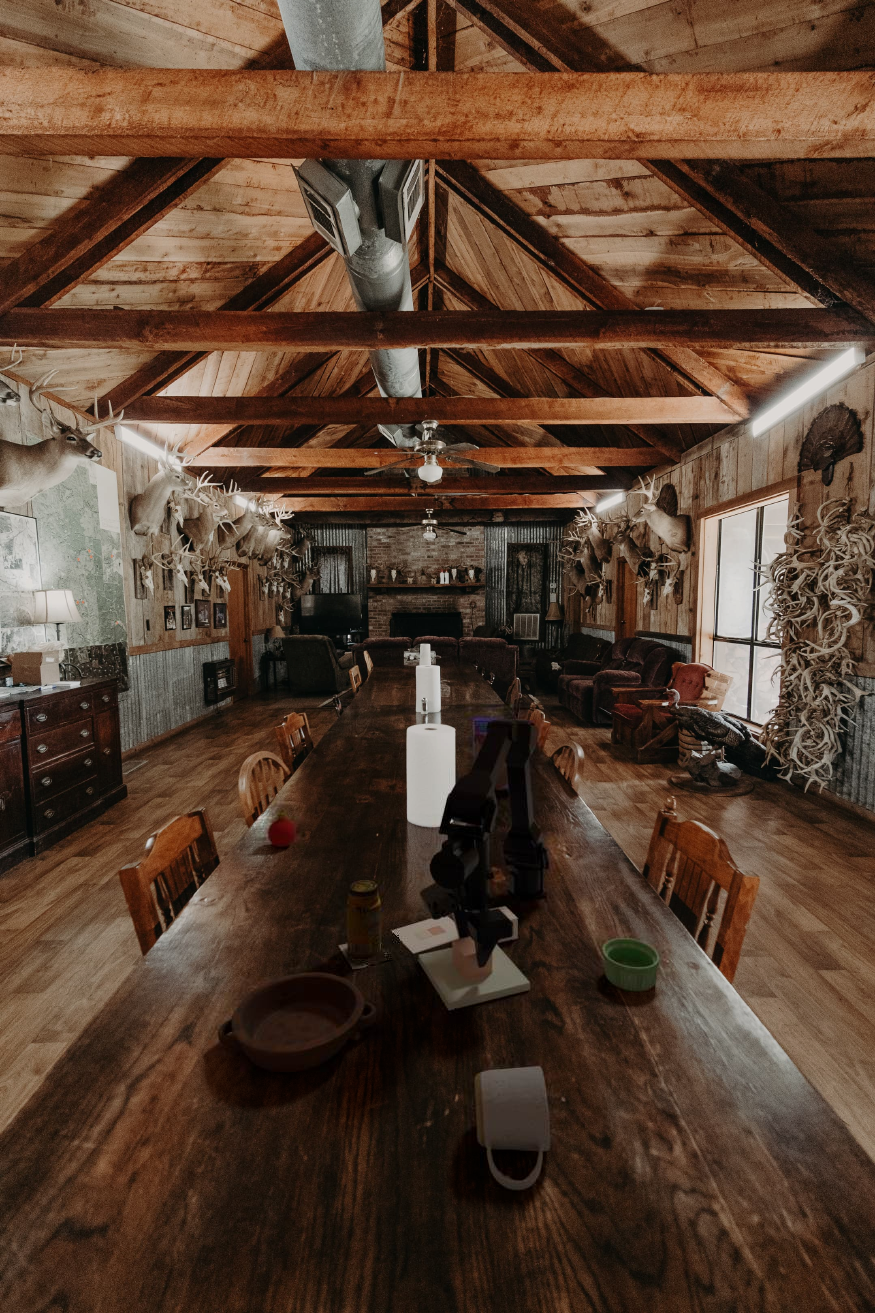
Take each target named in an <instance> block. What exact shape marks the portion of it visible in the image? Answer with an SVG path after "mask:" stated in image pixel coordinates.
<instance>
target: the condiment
mask: <svg viewBox="0 0 875 1313" xmlns="http://www.w3.org/2000/svg"><path fill="white" fill-rule="evenodd" d="M381 902H382V901H381V899H380V896H379V885H378V883H376V882H375V881H372V880H366V879H365V880H358V881H355V882H352V884H351V885H349V887H348V900H347V902H346V938H347V939H346V940H347V942H346V943H344V944H339V945H338V948H339V949H340V951H341V952H342V954H343V956H344V957H345V959H346V960H347V962H348V965H350V967H351V969H352V970H356V969H357V970H358V969H364V968H367V966H368V965H369V964H368V965H366V964H362V963H364V962H363V961H364V960H362V961H359V960H356V961H358V962H360V963H358V962H356V961H354V960H352V958H353V959H368V958H371V957H373V956H375V955H377V954H378V953H379V952H380V950H381V944H382V905H381ZM385 954H387V953H385ZM385 956H386V955H385ZM350 957H352V958H350ZM361 965H363V966H361ZM368 967H369V966H368Z"/></svg>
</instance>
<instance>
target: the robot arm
mask: <svg viewBox="0 0 875 1313" xmlns="http://www.w3.org/2000/svg"><path fill="white" fill-rule="evenodd" d="M493 719H494V720H492V721H489V722H488V725H487V734H486V736H485V738H484V741H483V743H482V745H481V747H480V750H479V752H478V754H477V757H476V759H475V761H474V763H473V762H472V765H471V768H470V770H469V771H468V773H467V774H466V775H464V776H462V777H460V778H459V779H457V780H456V782H455V784H454V786H453V788H452V789H451V790H450V792H449V793H448V794H447V797H446V800H445V805H444V810H443V813H442V816H441V820H440V826H439V830H438V834H439V835H443V836H447V839H446V840H444V841H443V842H441V848H440V850H439V851H437V852H436V853H435V854H434V855H433V856H432V858H431V860H430V863H429V872H430V875H431V878H432V879H433V880H434V883H431V885H428V886H427V887H425V888H422V890H421V891H420V892H419V896H420V899H421V901H422V903H423V905H424V908H425V911H426V913H428V914H429V916H430V917H431V918H432V919H433V920H438V919H440V918H442V917H446V916H448V917H449V916H450V915H452V918H453V919H452V920H453V921H454V922H455V926H456V930H457V933H458V937H459V939H461V938H466V937H471V938H472V939H473V940H474V943H475V951H476V958H477V963H478V967H479V968H482V967H485V965H486V964H487V962H488V960H489V958H490V956H491V954H492V952H493V950H494V948H495V946H496V944H497V945H498V941H499V940H500V939H505V938H509V937H512V936H513V922H512V921H511V920H510V919H509V918H508V917H507V916H506V915H505V914H504V913H503V912H502V911H501V910H500V909H494V910H489V909H490V908H489V907H487V905H490V904H495V897H494V895H493V894H492V893H491V892H490V880H492V879H494V878H495V873H494V871H493V870H492V869H491V868H490V834H492V833H493V830H494V826H495V823H496V818H497V815H498V812H499V805H498V801H497V797H496V791H494V788H495V785H496V782H497V779H498V777H499V774H500V772H501V769H502V766H503V764H504V762H505V763H506V769H507V781H508V791H507V792H508V793H507V794H508V804H509V814H510V827H509V830H508V831H507V833H506V835H505V837H504V839H503V844H502V852H503V859H504V865H505V866H510V871H509V872H508V886H507V890H508V891H509V892H510V893H511V894H512V895H513V896H515V897H516V899H518V900H519V901H521V902H523V901H530V900H534V899H539V898H544V897H548V893H547V892H546V891H545V890H544V872H545V870H549V869H550V867H551V865H550V863H551V858H550V852H549V850H548V847H547V844H546V842H544V837H543V836H544V835H543V831H542V829H541V828H540V826H538V824H537V823H536V822H535V820H534V811H533V810H534V809H533V796H532V795H533V794H532V784H531V782H532V781H531V771H530V770H531V769H530V768H531V767H530V757H531V755H532V753H533V752H534V750H535V749H536V746H537V742H538V740H539V729H538V726H536V723H535V722H533V721H532V720H529V719H525V720H518V719H519V718H516V719H515V718H514V719H513V718H499V719H500V720H496V719H497V718H493ZM452 821H453V822H455V823H451V822H452ZM456 823H457V824H456ZM458 823H461V824H458ZM462 823H463V824H462ZM431 918H430V919H431Z"/></svg>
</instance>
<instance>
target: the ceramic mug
mask: <svg viewBox="0 0 875 1313" xmlns="http://www.w3.org/2000/svg"><path fill="white" fill-rule="evenodd" d="M542 1068H543V1067H541V1066H539V1065H534V1066H527V1067H513V1068H512V1067H511V1068H504V1069H503V1068H502V1069H490V1070H489V1069H488V1070H485V1071H481V1072H479V1073H477V1074H476V1076H475V1077H474V1091H475V1092H474V1096H475V1113H476V1116H475V1117H476V1134H477V1135H476V1136H477V1138H476V1139H477V1143H478V1144H479V1145H480V1146H481V1147H483V1148H486V1156H487V1162H488V1165H489V1170H490V1172H491V1174H492V1176H493V1177H494V1179H495V1180H496V1181H497V1182H498V1183H499V1184H500V1185H502V1186H503V1187H505V1188H506V1189H509V1190H514V1191H523V1190H526V1189H528V1188H530V1187H531V1186H532V1185H534V1183H535V1182H536V1180H537V1179H538V1178H539V1175H540V1172H541V1169H542V1164H543V1157H544V1156H543V1152H548V1151H550V1149H551V1127H550V1126H551V1125H550V1124H551V1123H550V1111H549V1105H548V1104H549V1103H548V1097H547V1090H546V1083H545V1082H546V1081H545V1077H544V1076H545V1075H544V1073H543V1069H542ZM492 1150H512V1151H514V1150H515V1151H528V1152H531V1151H533V1152H538V1157H537V1161H536V1164H535V1167H534V1168H533V1169H532V1171H531V1172H530V1173H529V1175H528V1176H526V1178H525V1179H522V1180H519V1179H517V1180H516V1179H514V1178H513V1179H512V1177H510V1176H509V1175H505V1174H503V1173H502V1172H501V1171H499V1170H498V1168H497V1166H496V1165H495V1164H496V1163H495V1162H494V1160H493V1155H492V1154H493V1153H492Z"/></svg>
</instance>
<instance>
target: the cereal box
mask: <svg viewBox="0 0 875 1313" xmlns="http://www.w3.org/2000/svg"><path fill="white" fill-rule="evenodd" d="M494 719H496V720H500V719H501V718H479V717H478V718H477V717H476V718H473V719H472V764H473V763H474V761H475V759H476V757H477V754H478V752H479V750H480V747H481V745H482V743H483V741H484V738H485V736H486V734H487V725H488V722H489V721H492V720H494ZM517 719H518V720H526V719H523V718H522V719H521V718H517ZM495 788H508V781H507V769H506V763H505V762H504V764H503V766H502V769H501V772H500V774H499V777H498V779H497V782H496V785H495Z"/></svg>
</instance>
